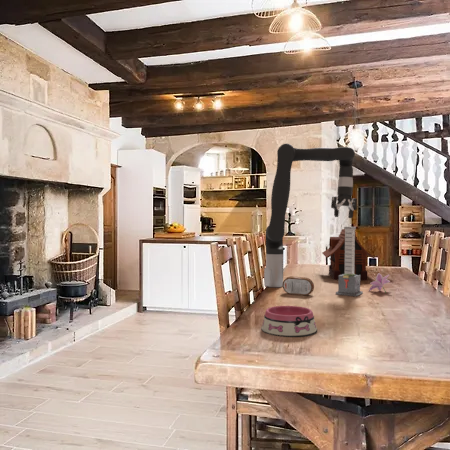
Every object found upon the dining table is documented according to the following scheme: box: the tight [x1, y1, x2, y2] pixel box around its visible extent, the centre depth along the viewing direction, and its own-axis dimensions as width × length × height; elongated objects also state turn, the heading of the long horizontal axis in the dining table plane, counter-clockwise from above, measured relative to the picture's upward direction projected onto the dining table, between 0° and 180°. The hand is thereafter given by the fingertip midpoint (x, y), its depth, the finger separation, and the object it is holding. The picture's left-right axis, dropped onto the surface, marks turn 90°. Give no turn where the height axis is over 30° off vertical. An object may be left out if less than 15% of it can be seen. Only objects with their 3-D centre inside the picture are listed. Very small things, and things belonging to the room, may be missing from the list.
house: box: [321, 228, 376, 281], centre depth 281 cm, size 35×28×29 cm
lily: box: [368, 272, 391, 294], centre depth 227 cm, size 12×12×10 cm
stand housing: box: [335, 274, 364, 297], centre depth 221 cm, size 10×10×9 cm
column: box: [343, 226, 357, 276], centre depth 221 cm, size 4×4×25 cm
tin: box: [282, 276, 315, 296], centre depth 219 cm, size 15×3×8 cm, turn 65°
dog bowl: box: [260, 305, 318, 338], centre depth 153 cm, size 18×19×7 cm
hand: (343, 217), depth 238 cm, fingers open, 8 cm apart
